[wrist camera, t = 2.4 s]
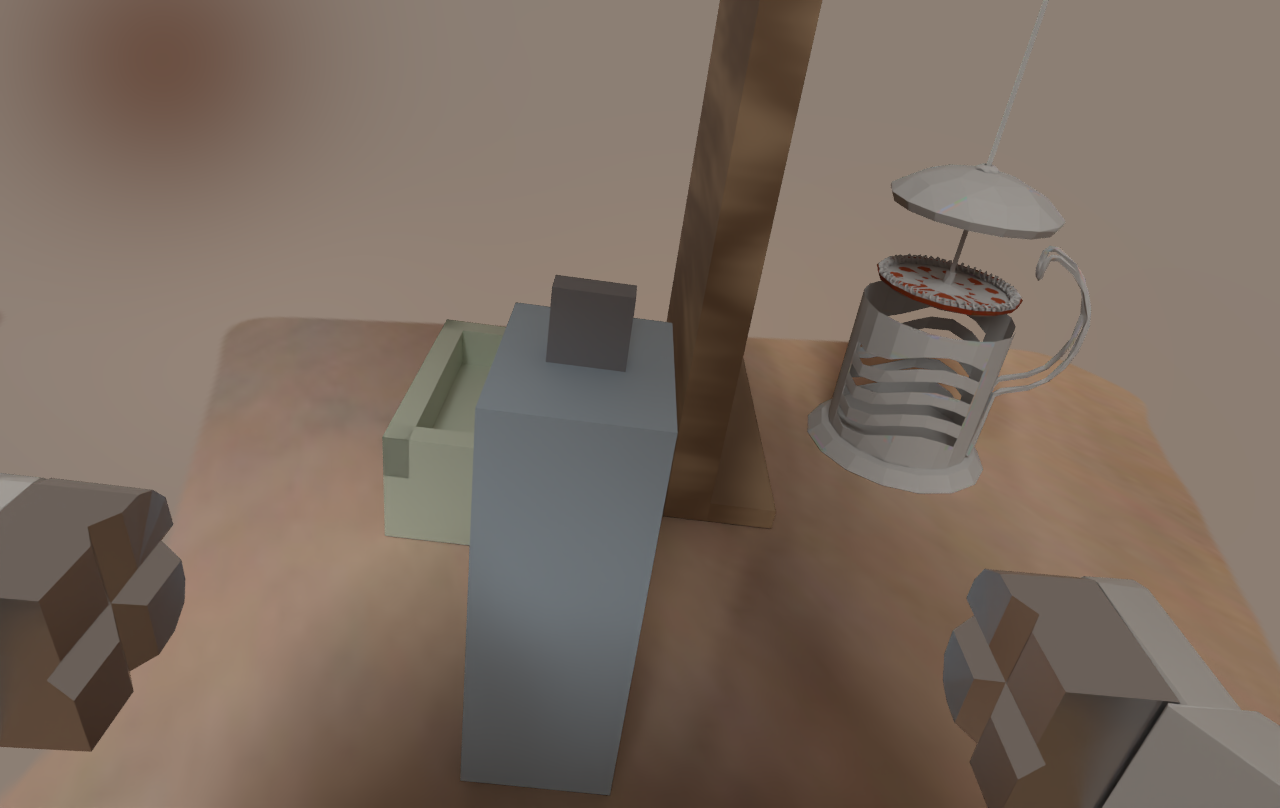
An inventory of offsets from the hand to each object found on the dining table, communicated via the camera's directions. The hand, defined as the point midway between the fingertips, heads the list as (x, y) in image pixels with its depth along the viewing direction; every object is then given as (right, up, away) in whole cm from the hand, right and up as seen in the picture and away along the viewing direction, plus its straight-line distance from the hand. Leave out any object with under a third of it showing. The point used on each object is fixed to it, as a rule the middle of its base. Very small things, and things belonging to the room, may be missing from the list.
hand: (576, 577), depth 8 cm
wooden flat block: (+4, 0, +35) cm, 36 cm away
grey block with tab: (-2, -8, +19) cm, 20 cm away
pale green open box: (-5, -1, +30) cm, 30 cm away
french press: (+16, -1, +37) cm, 40 cm away
